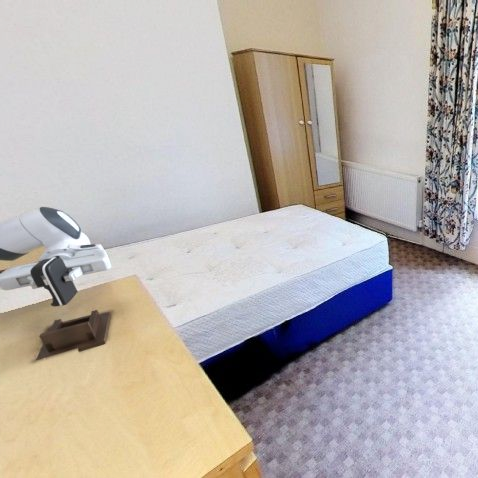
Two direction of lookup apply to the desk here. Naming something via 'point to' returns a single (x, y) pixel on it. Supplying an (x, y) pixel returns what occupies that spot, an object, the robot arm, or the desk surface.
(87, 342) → the dock
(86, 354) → the desk surface
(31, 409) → the desk surface
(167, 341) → the desk surface
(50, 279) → the battery charger
